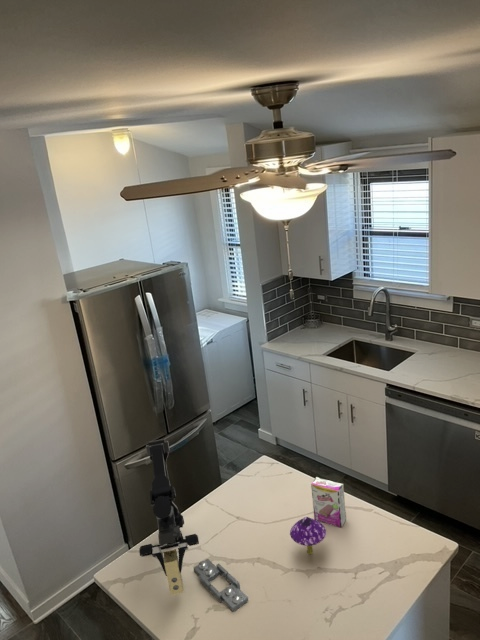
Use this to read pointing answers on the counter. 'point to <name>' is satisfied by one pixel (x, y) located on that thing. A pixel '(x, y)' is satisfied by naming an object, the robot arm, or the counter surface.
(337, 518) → the candy bar box
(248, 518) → the counter surface
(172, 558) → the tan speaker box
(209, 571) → the chain ends
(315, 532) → the decorative mushroom
